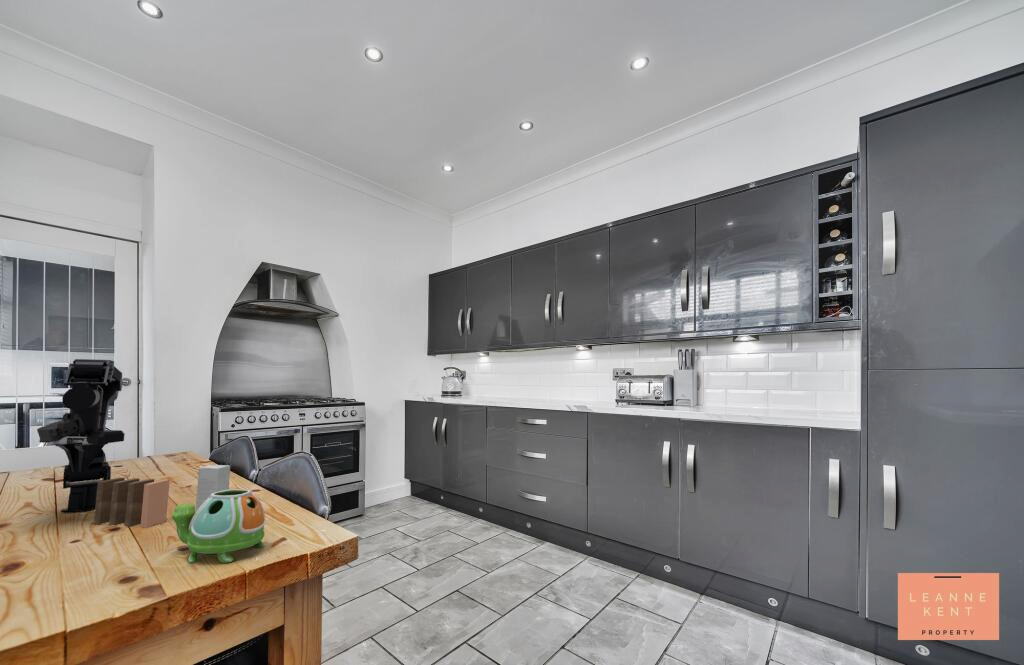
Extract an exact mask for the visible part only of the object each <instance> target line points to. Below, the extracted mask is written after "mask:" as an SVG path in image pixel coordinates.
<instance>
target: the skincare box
mask: <svg viewBox="0 0 1024 665" xmlns="http://www.w3.org/2000/svg"><path fill="white" fill-rule="evenodd" d="M230 474H231V465H229V464H226V465H225V464H224V465H222V464H218V465H217V464H210V465H209V464H208V465H205V466H200V467H198V474H197V475H198V476H197V487H196V488H197V489H196V501H195V512H196V511H197V510H198V509H199V507H200V506H201V505H202V504H203V503H204V502H205V501H206V500H207V499H208V498H209V497H210V495H211V494H212V493H215V492H219V491H223V490H230V478H231V477H230V476H231V475H230Z"/></svg>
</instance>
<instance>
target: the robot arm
mask: <svg viewBox="0 0 1024 665" xmlns="http://www.w3.org/2000/svg"><path fill="white" fill-rule="evenodd" d="M123 382H124V381H123V373H122V371H120V369H118V368H117V367H116V366H115V361H114V360H111V359H92V358H91V359H90V358H89V359H87V358H86V359H85V358H83V359H82V358H80V359H79V358H75V359H74V360H73V361H72V363H69V365H68V368H67V372H66V374H65V378H64V382H63V386H70V387H71V386H72V387H71V388H69V389H68V390H67V391H65V393H64V394H63V396H62V399H61V400H62V403H63V406H65V407H66V408H67V409H68V410H69V412H65V413H64V414H63V415H62V419H61V420H58V421H55V422H51V423H48V424H47V425H43V426H41V427H38V428H37V429H36V431H37V435H38V437H39V443H43V444H46V443H47V444H48V443H54V442H58V443H55V444H54V446H55V447H58V448H60V449H62V450H63V451H64V452H65V454H66V457H67V459H68V464H66V465H65V466H64V469H63V477H62V479H63V481H62V489H65V490H66V489H69V495H68V498H67V500H68V501H67V507H66V508H64V509H61V510H60V513H68V512H70V513H71V512H87V511H91V510H95V507H96V497H97V488H98V482H100V481H105V480H110V479H112V478H111V477H112V475H111V474H112V466H111V465H110V464H109V461H107V456H106V453H105V451H104V449H103V448H104V446H106V445H108V444H111V443H119V442H120V443H121V442H124V441H125V435H126V434H125V432H124V431H123V430H121V429H120V430H118V429H108V430H105V429H106V424H107V418H108V413H109V410H110V409H109V408H110V405H111V404H113V403H114V402H116V400H117V399H118V397H119V392H122V390H123Z"/></svg>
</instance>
